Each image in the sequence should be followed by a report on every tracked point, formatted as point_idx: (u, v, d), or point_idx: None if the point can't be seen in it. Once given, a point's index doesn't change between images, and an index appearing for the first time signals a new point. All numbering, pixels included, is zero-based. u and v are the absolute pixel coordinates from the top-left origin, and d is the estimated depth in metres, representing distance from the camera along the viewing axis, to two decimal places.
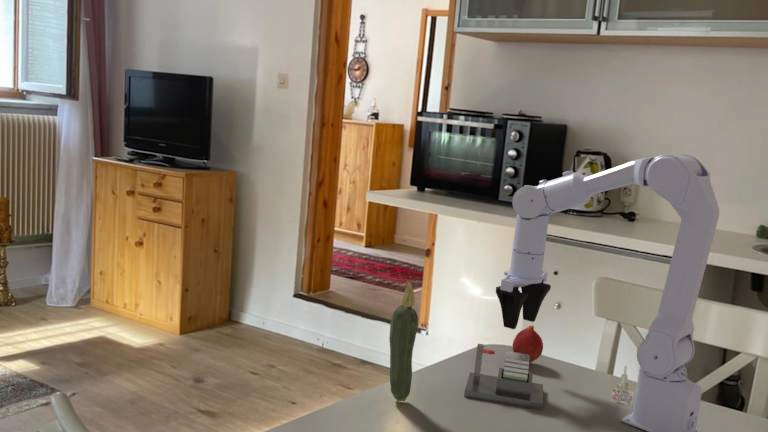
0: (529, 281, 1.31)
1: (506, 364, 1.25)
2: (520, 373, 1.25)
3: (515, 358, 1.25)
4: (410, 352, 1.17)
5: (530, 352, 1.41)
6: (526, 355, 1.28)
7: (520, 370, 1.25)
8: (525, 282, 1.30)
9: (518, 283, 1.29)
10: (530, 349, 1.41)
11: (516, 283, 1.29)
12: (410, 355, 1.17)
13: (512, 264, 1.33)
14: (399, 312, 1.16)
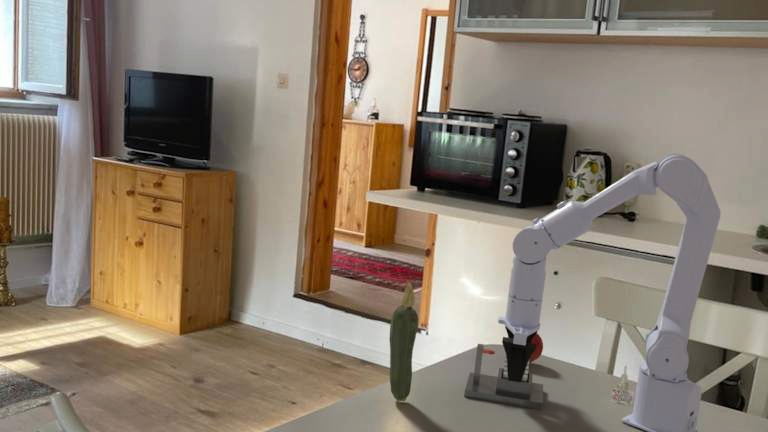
0: (535, 329, 1.23)
1: (506, 364, 1.25)
2: None
3: None
4: (410, 352, 1.17)
5: None
6: None
7: None
8: (532, 331, 1.22)
9: (529, 334, 1.20)
10: None
11: (528, 334, 1.20)
12: (410, 355, 1.17)
13: (512, 312, 1.24)
14: (399, 312, 1.16)
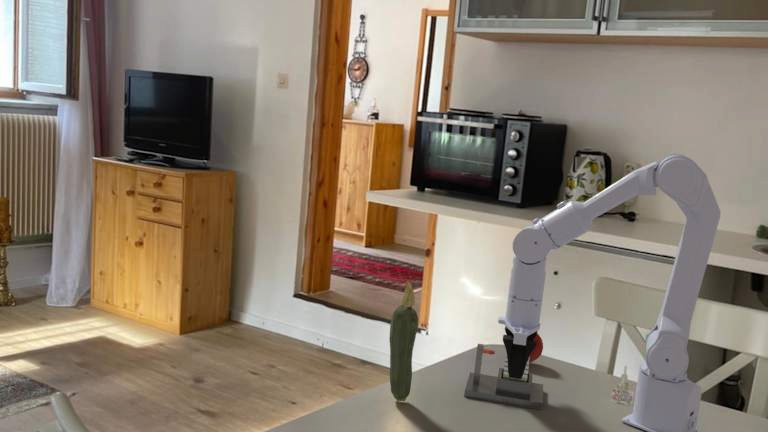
0: (535, 329, 1.23)
1: (506, 364, 1.25)
2: None
3: None
4: (410, 352, 1.17)
5: None
6: None
7: None
8: (532, 331, 1.22)
9: (529, 334, 1.20)
10: None
11: (528, 334, 1.20)
12: (410, 355, 1.17)
13: (512, 312, 1.24)
14: (399, 312, 1.16)
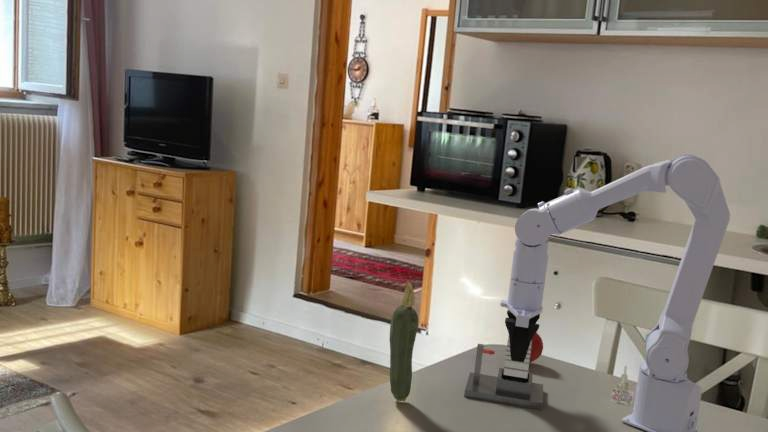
0: (537, 312, 1.22)
1: (508, 348, 1.25)
2: None
3: None
4: (410, 352, 1.17)
5: None
6: None
7: None
8: (535, 314, 1.21)
9: (531, 316, 1.20)
10: None
11: (530, 317, 1.20)
12: (410, 355, 1.17)
13: (515, 295, 1.23)
14: (399, 312, 1.16)
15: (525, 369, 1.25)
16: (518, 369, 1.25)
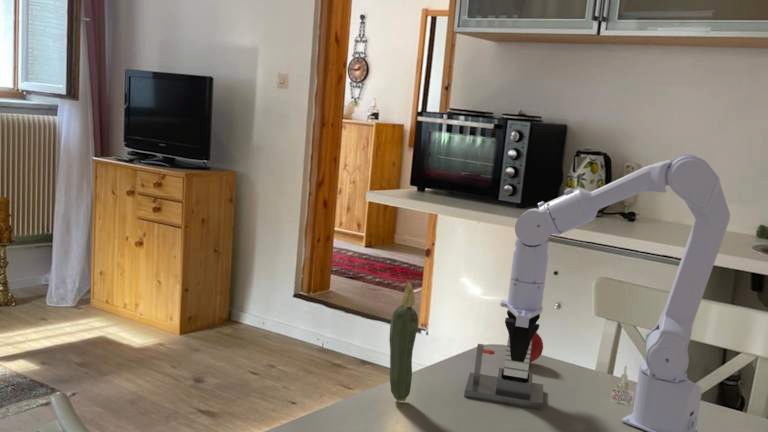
0: (537, 312, 1.22)
1: (508, 348, 1.25)
2: None
3: None
4: (410, 352, 1.17)
5: None
6: None
7: None
8: (535, 314, 1.21)
9: (531, 316, 1.20)
10: None
11: (530, 317, 1.20)
12: (410, 355, 1.17)
13: (515, 295, 1.23)
14: (399, 313, 1.16)
15: (525, 369, 1.25)
16: (518, 369, 1.25)
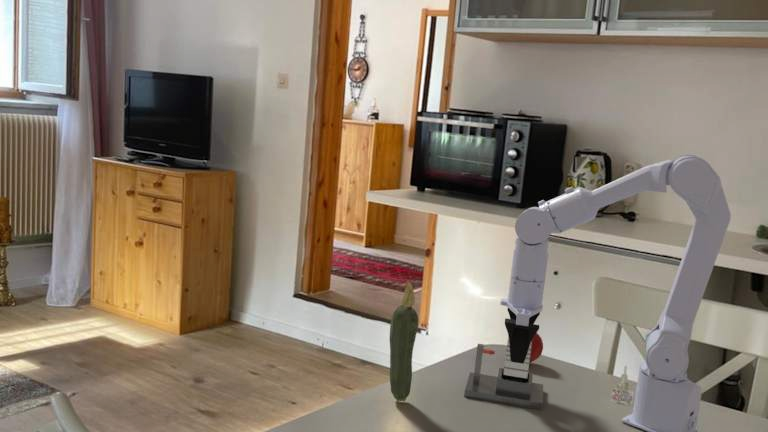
0: (537, 311, 1.22)
1: (508, 348, 1.25)
2: None
3: None
4: (410, 352, 1.17)
5: None
6: None
7: None
8: (535, 312, 1.21)
9: (531, 315, 1.20)
10: None
11: (530, 315, 1.20)
12: (410, 355, 1.17)
13: (515, 293, 1.23)
14: (399, 312, 1.16)
15: (525, 369, 1.25)
16: (518, 369, 1.25)
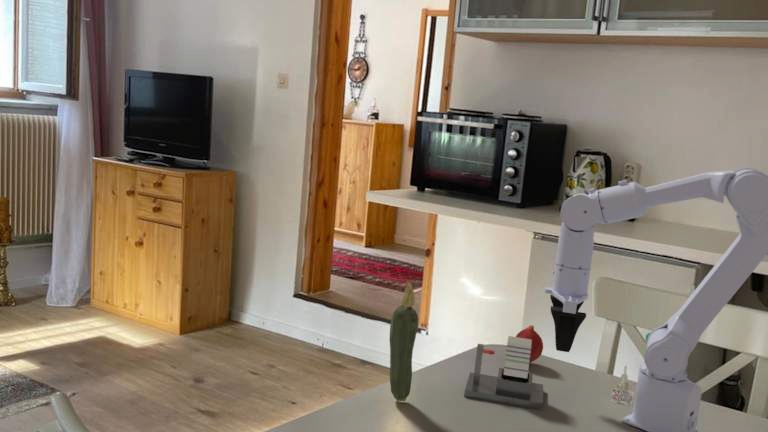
0: (583, 298, 1.20)
1: (508, 348, 1.25)
2: (522, 358, 1.24)
3: (517, 342, 1.25)
4: (410, 352, 1.17)
5: None
6: (528, 340, 1.27)
7: (522, 354, 1.24)
8: (581, 300, 1.20)
9: (578, 302, 1.18)
10: None
11: (577, 303, 1.18)
12: (410, 355, 1.17)
13: (560, 281, 1.21)
14: (399, 312, 1.16)
15: (525, 369, 1.25)
16: (518, 369, 1.25)
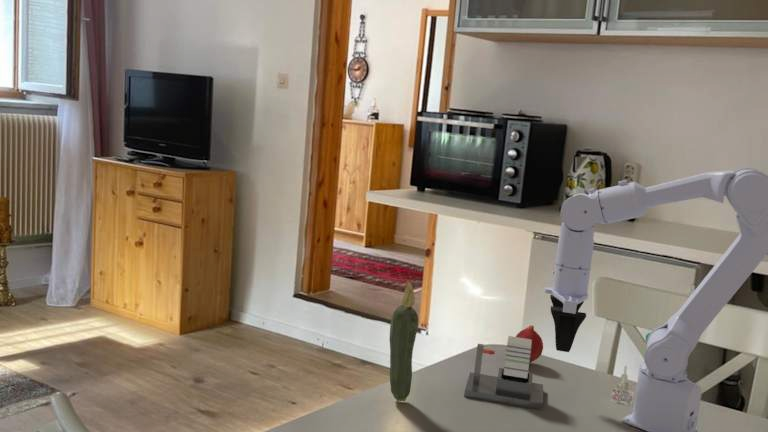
0: (583, 298, 1.20)
1: (508, 348, 1.25)
2: (522, 358, 1.24)
3: (517, 342, 1.25)
4: (410, 352, 1.17)
5: None
6: (528, 340, 1.27)
7: (522, 354, 1.24)
8: (581, 300, 1.20)
9: (578, 302, 1.18)
10: None
11: (577, 303, 1.18)
12: (410, 355, 1.17)
13: (560, 281, 1.21)
14: (399, 312, 1.16)
15: (525, 369, 1.25)
16: (518, 369, 1.25)
